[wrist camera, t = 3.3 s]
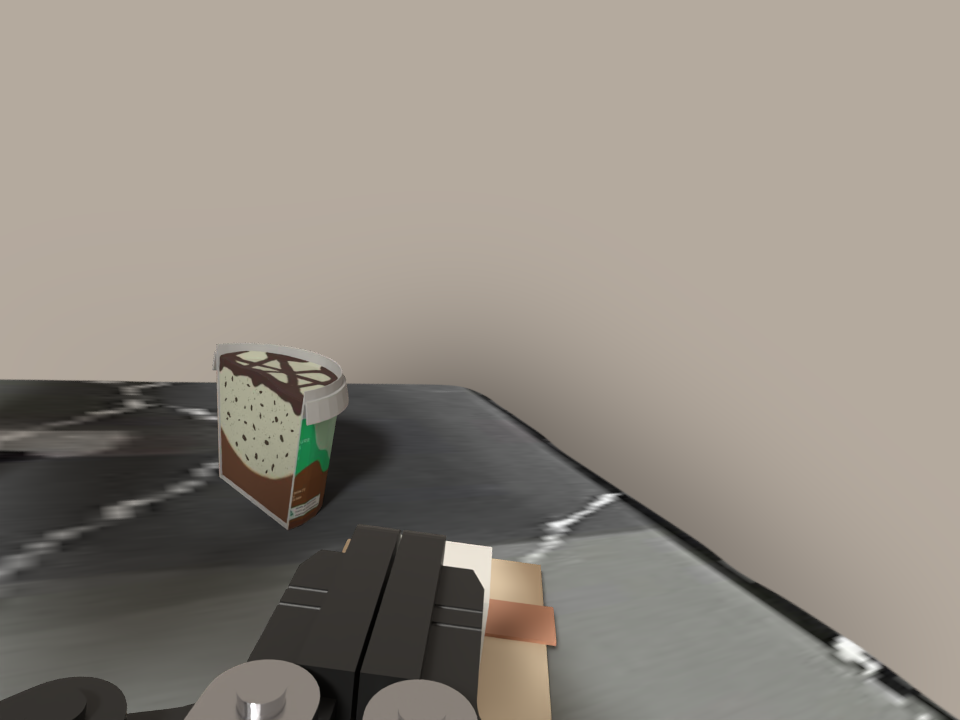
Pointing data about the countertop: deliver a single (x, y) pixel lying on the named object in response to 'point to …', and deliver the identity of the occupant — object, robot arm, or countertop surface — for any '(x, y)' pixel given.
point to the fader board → (515, 645)
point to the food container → (277, 425)
